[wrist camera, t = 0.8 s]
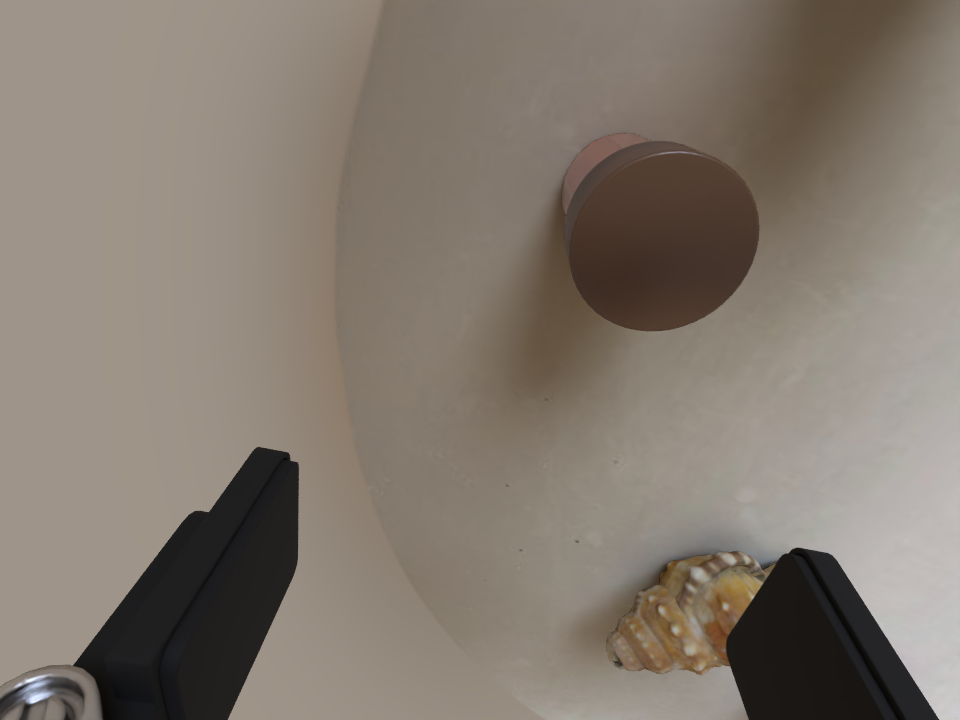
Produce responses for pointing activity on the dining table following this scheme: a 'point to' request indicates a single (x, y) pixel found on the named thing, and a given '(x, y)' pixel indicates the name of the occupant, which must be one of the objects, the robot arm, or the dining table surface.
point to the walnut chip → (660, 235)
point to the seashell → (687, 615)
